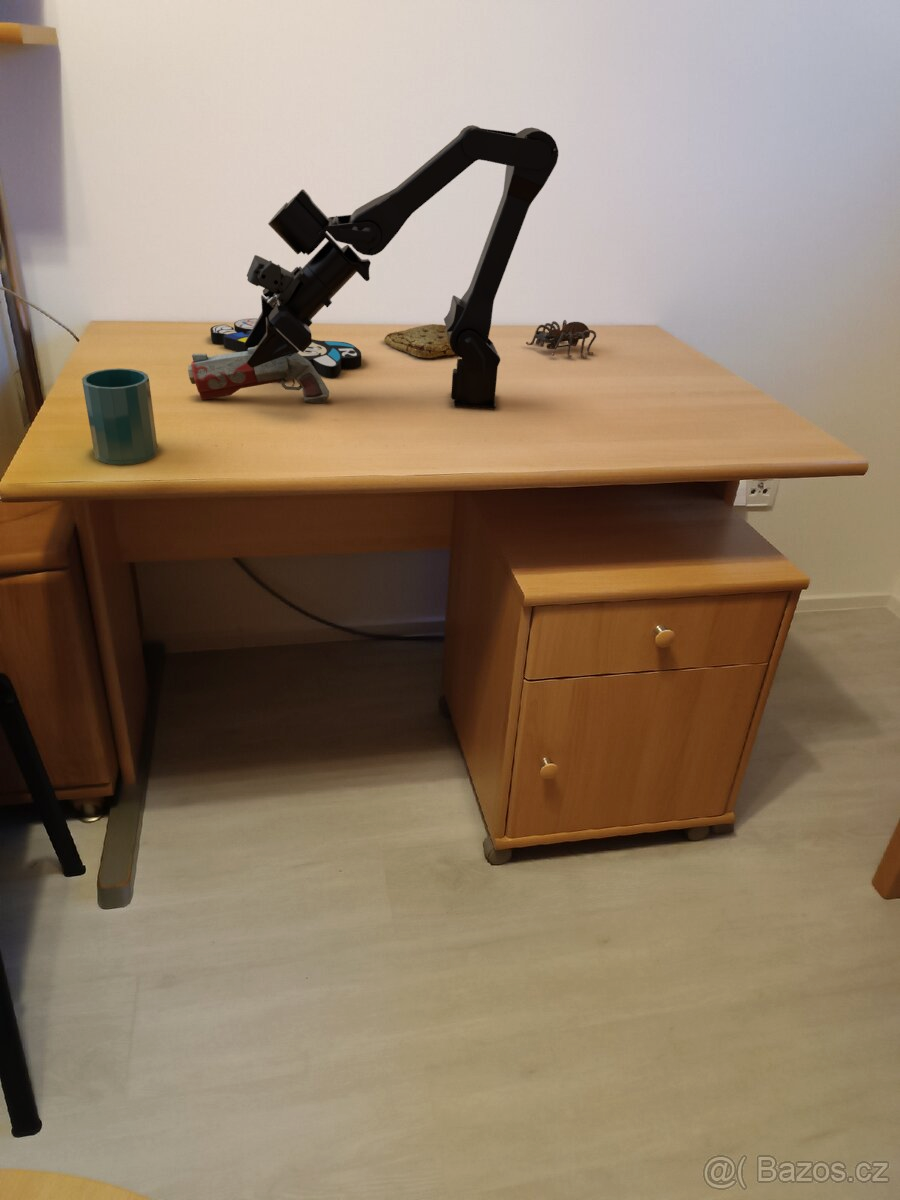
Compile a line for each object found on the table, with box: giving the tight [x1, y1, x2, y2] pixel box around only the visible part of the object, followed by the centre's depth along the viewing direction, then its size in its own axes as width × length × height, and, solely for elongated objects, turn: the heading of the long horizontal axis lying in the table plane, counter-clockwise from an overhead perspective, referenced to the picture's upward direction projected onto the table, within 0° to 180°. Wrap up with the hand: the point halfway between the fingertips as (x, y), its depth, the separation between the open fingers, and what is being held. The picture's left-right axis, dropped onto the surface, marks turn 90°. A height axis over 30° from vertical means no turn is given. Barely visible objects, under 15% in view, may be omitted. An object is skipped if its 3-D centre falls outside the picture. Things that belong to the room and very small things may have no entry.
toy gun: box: [187, 347, 330, 404], centre depth 133 cm, size 4×20×10 cm, turn 95°
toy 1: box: [209, 317, 362, 382], centre depth 154 cm, size 28×2×30 cm
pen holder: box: [81, 367, 159, 466], centre depth 112 cm, size 8×8×10 cm
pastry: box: [384, 323, 456, 359], centre depth 163 cm, size 17×17×3 cm
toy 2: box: [525, 319, 597, 359], centre depth 166 cm, size 12×12×5 cm
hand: (247, 355), depth 131 cm, fingers open, 9 cm apart
